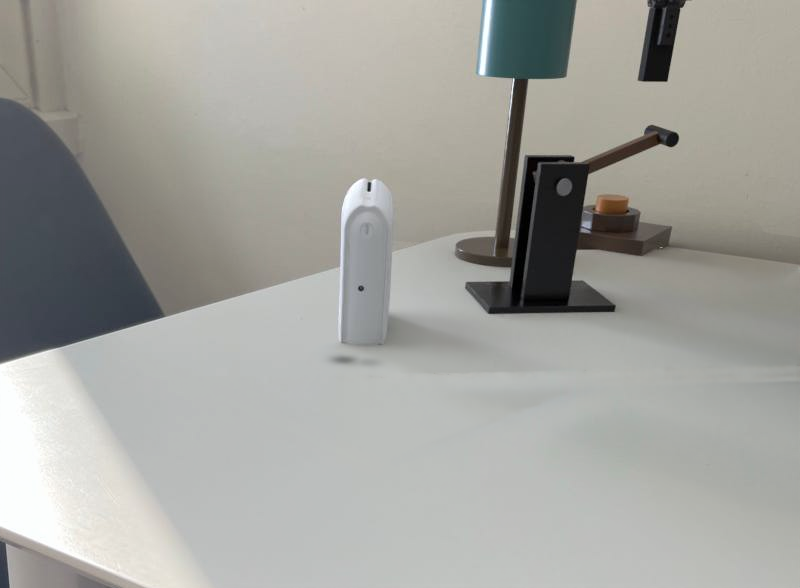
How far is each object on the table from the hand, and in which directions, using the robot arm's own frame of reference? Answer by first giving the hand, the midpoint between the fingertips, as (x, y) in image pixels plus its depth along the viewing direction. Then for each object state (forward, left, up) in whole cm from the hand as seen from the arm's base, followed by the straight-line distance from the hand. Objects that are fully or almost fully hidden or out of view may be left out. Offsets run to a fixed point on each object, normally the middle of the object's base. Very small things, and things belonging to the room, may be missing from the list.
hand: (652, 80), depth 105 cm
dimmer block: (+2, -2, -17) cm, 18 cm away
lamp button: (+2, -2, -14) cm, 14 cm away
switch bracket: (+10, +26, -17) cm, 32 cm away
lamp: (+14, +9, -17) cm, 24 cm away
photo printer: (+25, +39, -18) cm, 49 cm away
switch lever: (+5, +24, -6) cm, 25 cm away
